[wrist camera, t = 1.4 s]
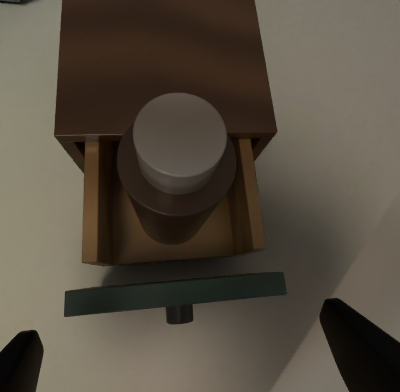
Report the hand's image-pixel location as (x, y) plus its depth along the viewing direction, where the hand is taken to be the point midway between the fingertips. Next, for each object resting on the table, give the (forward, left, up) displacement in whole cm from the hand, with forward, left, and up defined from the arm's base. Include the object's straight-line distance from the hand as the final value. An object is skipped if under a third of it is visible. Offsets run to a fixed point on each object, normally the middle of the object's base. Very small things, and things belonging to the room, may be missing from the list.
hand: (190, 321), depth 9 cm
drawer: (+6, -2, -12) cm, 13 cm away
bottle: (+5, -2, -10) cm, 12 cm away
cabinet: (+16, -5, -12) cm, 21 cm away
